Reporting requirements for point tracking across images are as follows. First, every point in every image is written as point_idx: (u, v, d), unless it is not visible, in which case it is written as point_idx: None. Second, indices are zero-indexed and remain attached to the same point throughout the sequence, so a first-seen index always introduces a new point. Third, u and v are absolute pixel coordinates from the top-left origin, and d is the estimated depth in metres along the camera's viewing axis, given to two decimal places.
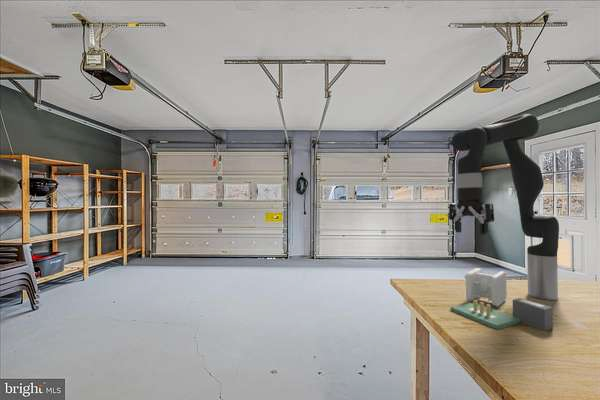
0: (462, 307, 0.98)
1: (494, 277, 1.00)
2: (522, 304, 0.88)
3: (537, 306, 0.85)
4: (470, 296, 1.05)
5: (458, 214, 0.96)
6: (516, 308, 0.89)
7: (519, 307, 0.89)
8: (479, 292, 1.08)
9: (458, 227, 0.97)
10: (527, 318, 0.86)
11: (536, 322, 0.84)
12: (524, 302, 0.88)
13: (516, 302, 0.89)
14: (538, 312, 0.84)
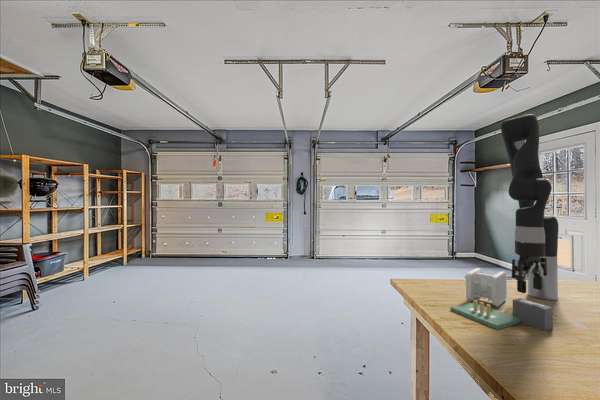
0: (462, 307, 0.98)
1: (494, 277, 1.00)
2: (522, 304, 0.88)
3: (537, 306, 0.85)
4: (470, 296, 1.05)
5: (530, 272, 0.85)
6: (516, 308, 0.89)
7: (519, 307, 0.89)
8: (479, 292, 1.08)
9: None
10: (527, 318, 0.86)
11: (536, 322, 0.84)
12: (524, 302, 0.88)
13: (516, 302, 0.89)
14: (538, 312, 0.84)
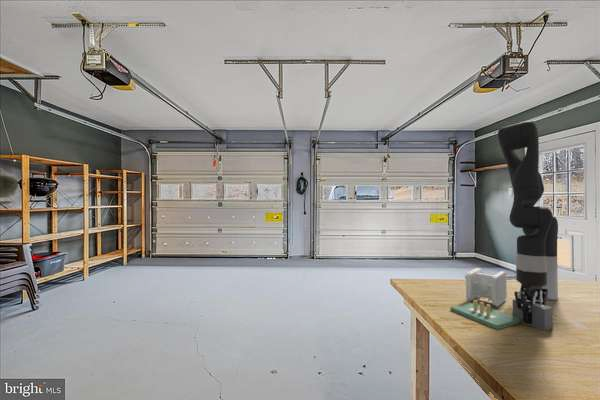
0: (462, 307, 0.98)
1: (494, 277, 1.00)
2: None
3: (537, 306, 0.85)
4: (470, 296, 1.05)
5: (534, 302, 0.85)
6: (516, 308, 0.89)
7: None
8: (479, 292, 1.08)
9: None
10: None
11: (536, 322, 0.84)
12: None
13: None
14: (538, 312, 0.84)
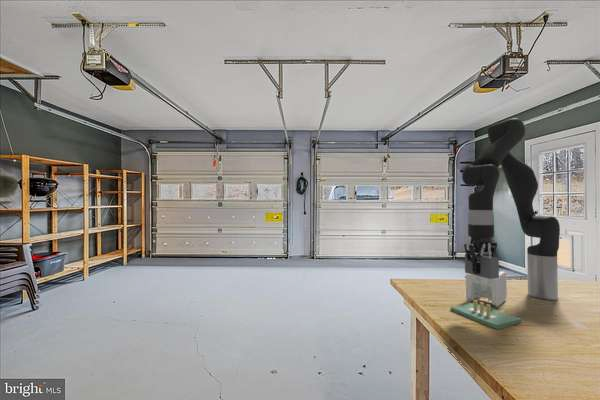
0: (462, 307, 0.98)
1: None
2: None
3: (485, 257, 0.90)
4: (470, 296, 1.05)
5: (481, 254, 0.91)
6: (468, 261, 0.95)
7: None
8: (479, 292, 1.08)
9: None
10: None
11: (483, 272, 0.90)
12: None
13: None
14: (485, 262, 0.90)
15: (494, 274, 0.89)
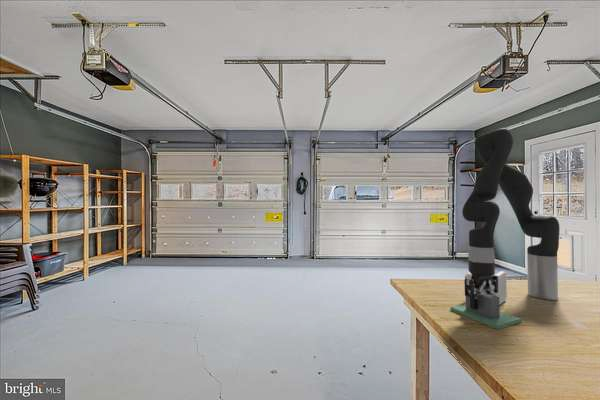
0: (462, 307, 0.98)
1: None
2: None
3: (485, 296, 0.90)
4: None
5: (480, 290, 0.90)
6: (468, 298, 0.95)
7: None
8: None
9: None
10: None
11: (484, 311, 0.90)
12: (475, 292, 0.94)
13: None
14: (486, 301, 0.89)
15: (495, 314, 0.89)
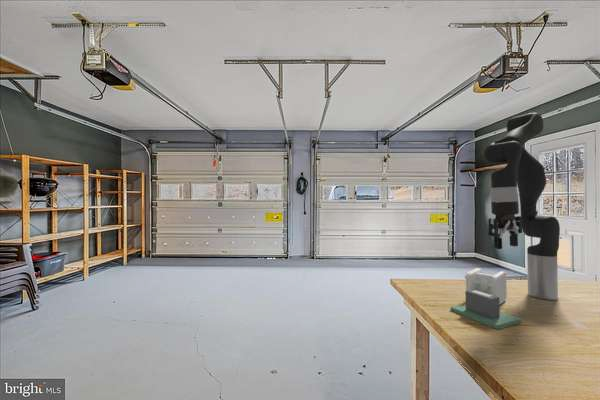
0: (462, 307, 0.98)
1: (494, 277, 1.00)
2: (473, 294, 0.93)
3: (485, 296, 0.90)
4: None
5: (505, 229, 0.91)
6: (468, 298, 0.95)
7: (471, 298, 0.94)
8: None
9: None
10: (477, 307, 0.92)
11: (484, 311, 0.90)
12: (475, 292, 0.94)
13: (468, 293, 0.95)
14: (486, 301, 0.89)
15: (495, 314, 0.89)
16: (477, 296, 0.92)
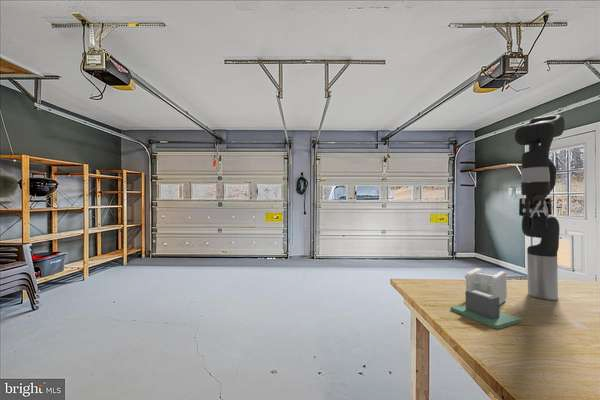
0: (462, 307, 0.98)
1: (494, 277, 1.00)
2: (473, 294, 0.93)
3: (485, 296, 0.90)
4: None
5: (536, 209, 0.91)
6: (468, 298, 0.95)
7: (471, 298, 0.94)
8: None
9: None
10: (477, 307, 0.92)
11: (484, 311, 0.90)
12: (475, 292, 0.94)
13: (468, 293, 0.95)
14: (486, 301, 0.89)
15: (495, 314, 0.89)
16: (477, 296, 0.92)
